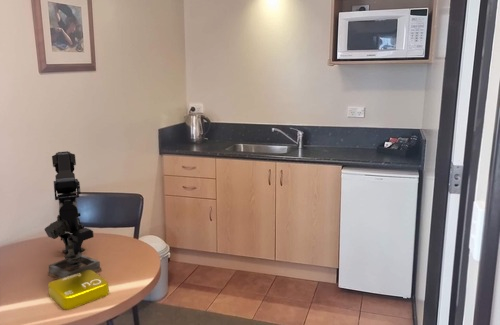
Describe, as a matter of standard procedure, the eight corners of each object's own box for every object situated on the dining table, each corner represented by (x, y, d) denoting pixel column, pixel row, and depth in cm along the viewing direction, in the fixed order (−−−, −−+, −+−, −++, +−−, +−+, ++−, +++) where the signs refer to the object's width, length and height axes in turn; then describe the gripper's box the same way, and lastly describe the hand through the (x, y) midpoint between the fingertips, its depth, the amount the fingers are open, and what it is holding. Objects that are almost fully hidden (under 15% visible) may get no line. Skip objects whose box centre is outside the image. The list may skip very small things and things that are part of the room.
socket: (48, 275, 158) (47, 265, 158) (80, 262, 169) (79, 253, 168) (69, 284, 151) (68, 274, 150) (101, 270, 161) (100, 261, 160)
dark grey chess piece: (77, 259, 163) (74, 229, 161) (86, 264, 160) (83, 232, 157) (62, 265, 159) (58, 234, 156) (70, 270, 155) (67, 237, 153)
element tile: (91, 279, 155) (90, 267, 154) (111, 295, 145) (110, 281, 144) (47, 294, 145) (45, 281, 144) (65, 312, 135) (63, 298, 134)
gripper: (32, 212, 154) (37, 254, 157) (62, 223, 143) (67, 268, 147) (61, 204, 163) (66, 244, 166) (92, 214, 152) (96, 256, 155)
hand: (73, 253), depth 158 cm, fingers closed on dark grey chess piece, 3 cm apart
